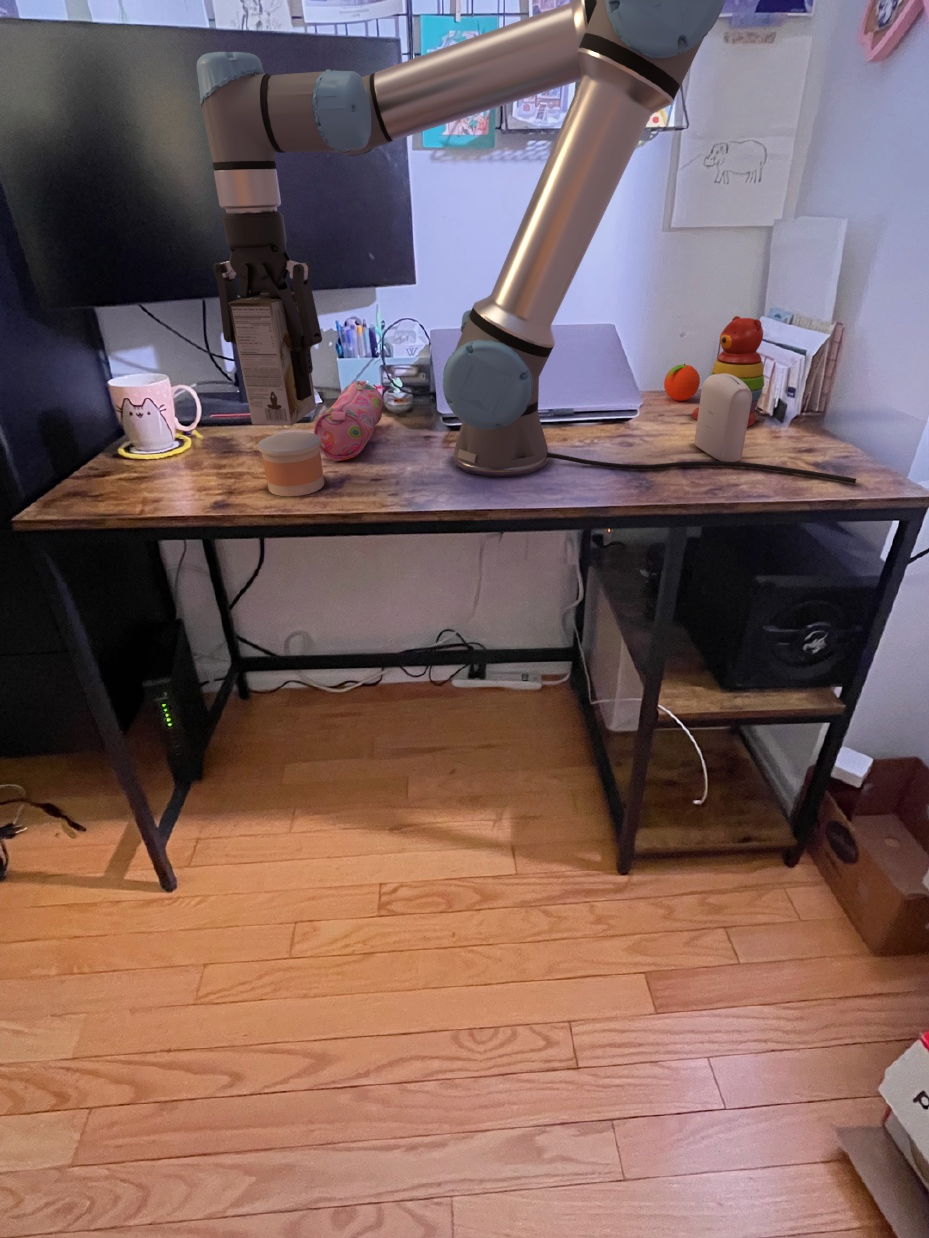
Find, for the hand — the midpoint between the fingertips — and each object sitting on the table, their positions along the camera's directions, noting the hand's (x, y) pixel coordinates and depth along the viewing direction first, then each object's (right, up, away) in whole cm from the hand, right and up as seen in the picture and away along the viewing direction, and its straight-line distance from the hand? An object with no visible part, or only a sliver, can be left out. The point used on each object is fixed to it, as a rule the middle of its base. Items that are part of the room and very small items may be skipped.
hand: (281, 395), depth 101 cm
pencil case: (+6, -1, +24) cm, 25 cm away
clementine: (+70, +12, +42) cm, 82 cm away
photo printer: (+68, -5, +15) cm, 69 cm away
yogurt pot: (0, -12, +7) cm, 14 cm away
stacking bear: (+75, +5, +30) cm, 81 cm away
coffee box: (0, -3, +2) cm, 3 cm away
